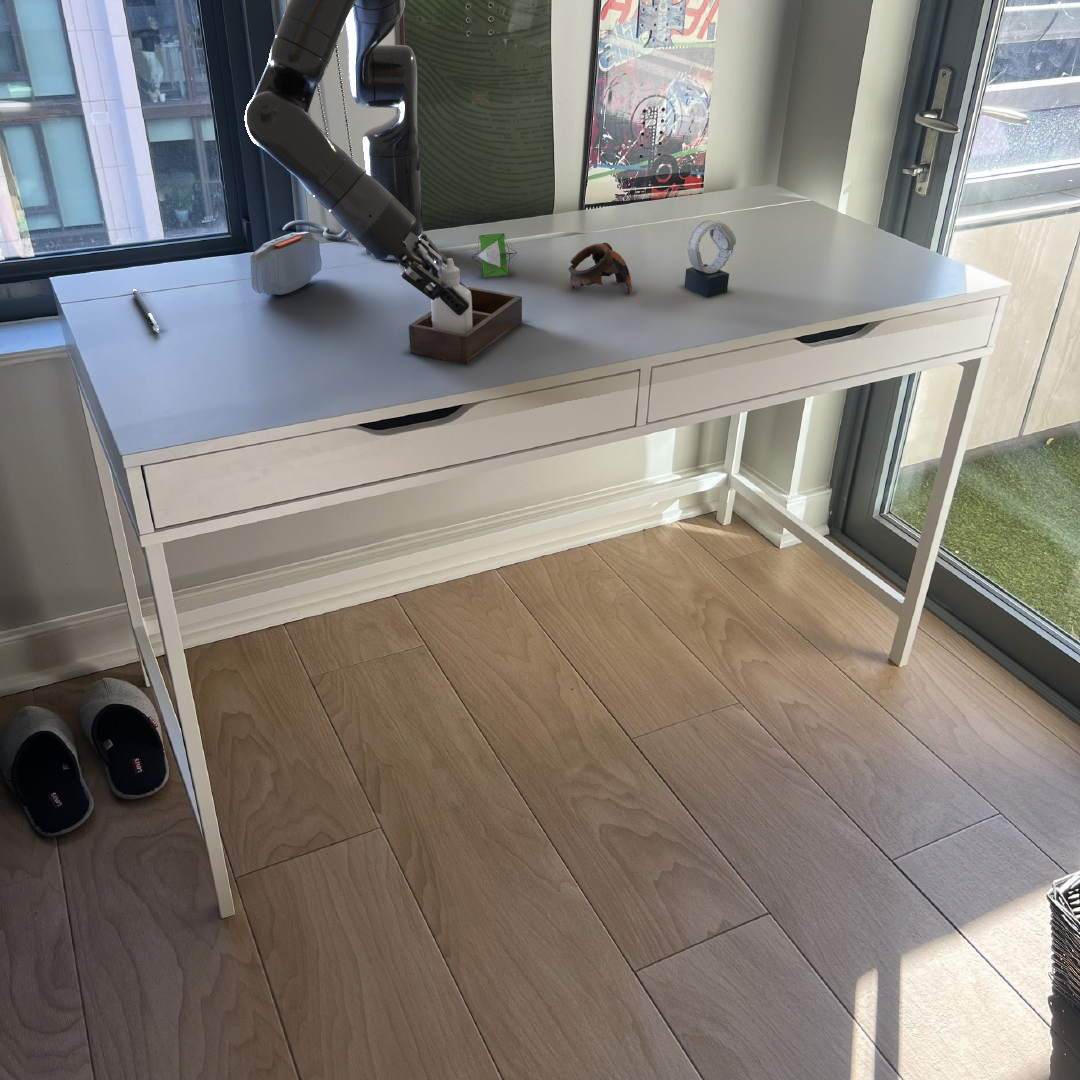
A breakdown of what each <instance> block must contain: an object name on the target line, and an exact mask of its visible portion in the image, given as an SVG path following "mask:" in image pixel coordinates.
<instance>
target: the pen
mask: <svg viewBox="0 0 1080 1080" xmlns="http://www.w3.org/2000/svg"><path fill="white" fill-rule="evenodd" d="M132 294H133V296H134V298H135V300H136V301H137V303H138V305H139V306H140V308H141V310H142V312H143V314H144V316H145V317H146V319H147V321H148V322H149V324H150V326H151V328H152V330H153V331H154V332H156V333H160V326H159V324H158V322H157V321H156V319H155V317H154V315H153V314H152V312H151V311H150V308H149V307H148V306H147V304H146V302H145V300H144V299H143V297H142V295H141V293H140V292H139V291H138V289H135V288H133V291H132Z"/></svg>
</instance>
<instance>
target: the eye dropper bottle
mask: <svg viewBox="0 0 1080 1080" xmlns="http://www.w3.org/2000/svg"><path fill="white" fill-rule="evenodd" d="M446 259H447V265H446V267H444V268H442V276H443V277H444V278H445V279H446V281H448V282H449V284H450V286H452V287H453V288H454V289H455V290H456V291H457V292H458V293H459V294H460V295H462V296H463V297H464V298H465V299H466V300H467V301H468V302H469V308H468V309H467V310H466V311H465V312H464V313H463V314H462V315H457V314H456V313H455V312H454V311H453V310H452V309H451V308H450V307H448V306H447V305H446V304H445V303H444V302H443V301H442V300H441V299H440V298H439V299H437V298H435V299H434V300H432V299H430V304H431V305H430V307H431V311H432V328H436V329H441V330H446V331H451V332H456V333H461V334H465V333H466V332H468V331H469V330H470V329H472V296H471V292H470V291H469V290H468V289H467V288H466V287H467V286H466V287H464V286H462V285H460V284H459V283H460V281H461V280H460V279H461V278H460V276H461V275H460V268H459V267H457V266H456V265H455V263H454V260H453V259H454V258H451V257H448V258H446Z"/></svg>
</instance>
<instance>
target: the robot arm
mask: <svg viewBox="0 0 1080 1080" xmlns="http://www.w3.org/2000/svg"><path fill="white" fill-rule="evenodd" d="M405 6H406V0H289V1H288V3H287V5H286V7H285V10H284V13H283V16H282V17H281V20H280V23H279V26H278V28H277V31H276V33H275V36H274V38H273V42H272V44H271V49H270V53H269V58H268V62H267V65H266V67H265V69H264V72H263V74H262V76H261V79H260V81H259V83H258V85H257V87H256V90H255V92H254V95H253V97H252V99H251V100H250V101H249V103H248V104H247V106H246V110H245V115H244V121H245V127H246V130H247V133H248V135H249V137H250V139H251V141H252V142H253V143H254V144H255V145H256V146H258V147H259V148H260V149H262V150H264V151H265V152H266V153H267V154H269V155H270V156H271V157H272V158H273V159H275V160H276V161H277V162H278V163H279V164H280V165H282V167H284V168H285V169H286V170H287V171H288V172H289V173H291V174H292V175H293V176H295V178H296V179H297V180H298V181H299V183H300V184H301V185H302V186H303V188H304V189H305V190H306V192H307V193H309V194H310V195H311V197H313V198H314V199H315V200H316V201H317V202H318V203H319V204H321V206H322V207H324V209H325V210H327V211H328V212H329V213H330V214H331V216H333V218H334V219H335V220H336V221H337V222H338V224H339V225H340V226H341V227H342V228H343V231H342V232H341V233H339V234H331V233H330V232H331V229H330V228H329V227H328V226H326V225H323V224H320V223H317V222H314V221H310V220H304V219H302V220H301V219H299V220H298V219H297V220H292V221H290V222H288V223H286V224H285V225H284V226H283V227H282V230H283V231H289V230H290V229H291V228H292V227H296V226H305V227H306V226H307V227H310V228H314V229H317V230H320V231H323V232H322V236H323V237H324V238H325V239H328V240H333V241H341V240H343V239H345V238H346V237H347V235H348V234H350V235H351V236H352V237H353V238H354V239H355V240H356V241H357V242H359V243H360V244H361V245H362V247H364V248H365V253H366V254H369V255H370V256H372V257H373V258H376V259H377V260H378V261H396V262H398V265H399V267H400V269H402V272H401V273H400V276H401V277H402V279H403V280H405V281H406V282H407V283H409V284H410V285H411V286H412V287H414V288H416V290H418V291H419V292H421V293H422V294H424V295H425V296H426V297H427V298H429V299H430V300H431V299H432V300H434V299H435V298H437V299H439V298H440V299H441V300H442V301H443V302H444V303H445V304H446V305H447V306H448V307H450V308H451V309H452V310H453V311H454V312H455V313H456V314H457V315H462V314H463V313H464V312H465V311H466V310H467V309H468V308H469V302H468V301H467V300H466V299H465V298H464V297H463V296H462V295H460V294H459V293H458V292H457V291H456V290H455V289H454V288H453V287H452V286H450V284H449V282H448V281H446V279H445V278H444V277H443V276H442V268H444V267H446V265H447V259H448V258H446V256H445V255H444V254H443V253H442V252H441V251H440V250H439V249H438V247H437V246H436V245H435V244H434V243H433V242H432V241H431V239H430V238H429V237H428V235H427V234H426V233H424V224H423V221H424V220H423V203H422V179H421V161H420V144H419V143H420V142H419V129H418V67H417V66H418V65H417V60H416V59H417V58H416V55H415V53H414V50H413V49H412V47H410V46H409V45H403V44H380V43H381V42H382V41H383V40H385V39H386V37H387V36H389V34H390V33H391V32H392V31H393V30H394V28H395V27H396V26H397V25H398V24H399V22H400V20H401V18H402V16H403V14H404V11H405ZM344 28H345V29H344ZM343 29H344V30H345V39H346V56H347V57H346V58H347V59H346V60H347V77H348V85H349V86H348V87H349V90H350V94H351V97H352V99H353V100H354V102H355V104H357V106H359V107H363V108H368V109H397V112H396V114H394V116H393V117H392V118H391V119H389V120H388V121H386V122H384V123H382V124H379V125H378V126H374V127H372V128H369V129H368V130H366V131H365V132H364V133H363V135H362V151H363V164H364V169H363V168H362V167H361V166H360V165H359V164H358V163H357V162H356V161H355V160H354V159H353V158H351V157H350V155H349V154H347V152H345V150H343V149H342V148H340V147H339V146H338V145H337V144H335V142H333V141H332V140H331V139H330V138H329V137H328V136H327V134H326V133H325V132H324V131H323V130H322V129H321V128H320V126H319V125H318V124H317V123H316V122H315V120H313V118H311V116H310V115H308V113H309V110H310V108H311V104H312V102H313V98H314V95H315V92H316V89H317V87H318V85H319V84H320V82H321V81H322V79H323V77H324V75H325V73H326V71H327V69H328V67H329V64H330V62H331V59H332V57H333V54H334V52H335V49H336V46H337V44H338V41H339V39H340V36H341V33H342V32H343ZM459 284H460V285H462V286H464V287H466V288H467V287H468V286H466V285H465V284H464V283H463V282H462V281H461V280H460V283H459ZM467 289H468V288H467ZM468 290H469V289H468ZM469 291H470V290H469ZM470 292H471V291H470Z"/></svg>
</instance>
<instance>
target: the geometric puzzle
mask: <svg viewBox="0 0 1080 1080" xmlns="http://www.w3.org/2000/svg"><path fill="white" fill-rule="evenodd" d="M506 238H507V236H506V235H505V232H500V233H491V234H479V235H478V239H477V240H479V243H478V245H477V248H479V246H480V250H477V252H476V253H475V254H474V252H475V250H476V248H474V251H473V253H472V254H473V255H472V256H471V257H470V259H472V261H473V262H474V264H475V266H476V267H477V269H478V270H479V271H480V273H481V274H482V276H483V278H490V277H499V276H509V273H510V270H511V267H510V266H508V262H510V259H511V258H513V257H516V255H517V254H518V252H517V251H515V249H512V248H511V247H508V242H509V243H510V245H512V244H511V242H510V241H509V239H508V238H507V239H506ZM507 240H508V242H507ZM505 243H506V244H505ZM506 247H507V250H508V252H507V250H506ZM510 250H512V252H510ZM479 252H480V253H479ZM476 258H477V260H476ZM507 258H508V259H507ZM479 259H481V262H480V260H479ZM475 261H476V262H477V263H479V266H480V269H481V270H480V269H479V267H478V265H477V264H476V262H475ZM513 263H514V262H512V263H511V265H513Z"/></svg>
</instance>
